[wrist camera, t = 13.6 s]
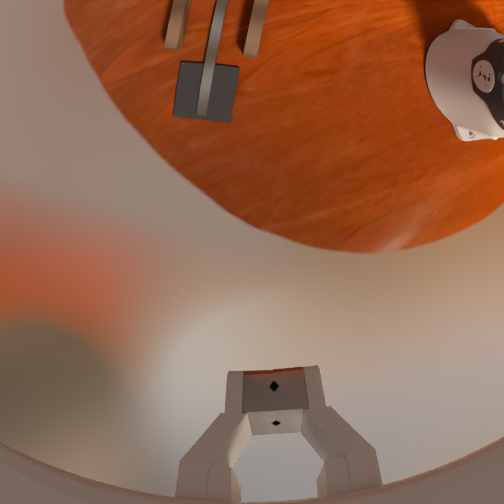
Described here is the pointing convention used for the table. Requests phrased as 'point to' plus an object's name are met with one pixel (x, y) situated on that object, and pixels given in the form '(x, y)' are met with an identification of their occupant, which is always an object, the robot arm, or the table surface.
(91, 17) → the table surface
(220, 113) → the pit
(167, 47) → the track
